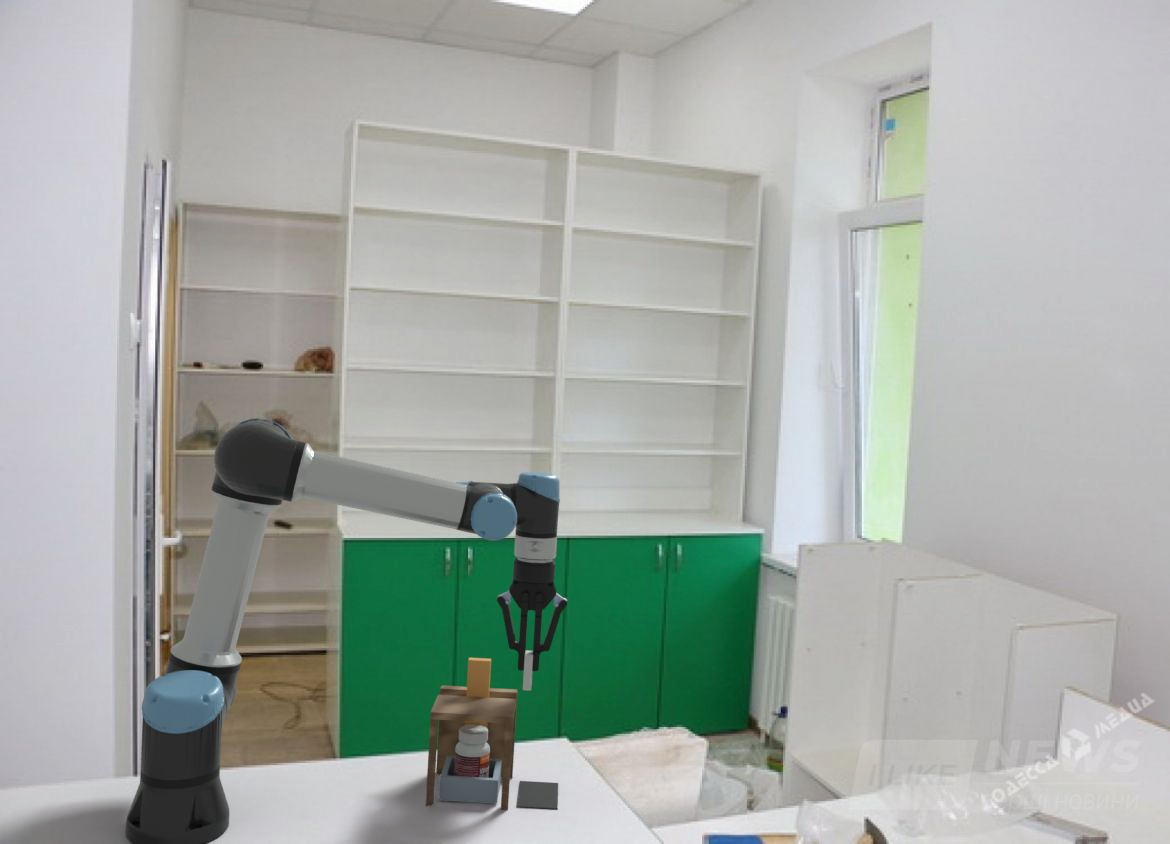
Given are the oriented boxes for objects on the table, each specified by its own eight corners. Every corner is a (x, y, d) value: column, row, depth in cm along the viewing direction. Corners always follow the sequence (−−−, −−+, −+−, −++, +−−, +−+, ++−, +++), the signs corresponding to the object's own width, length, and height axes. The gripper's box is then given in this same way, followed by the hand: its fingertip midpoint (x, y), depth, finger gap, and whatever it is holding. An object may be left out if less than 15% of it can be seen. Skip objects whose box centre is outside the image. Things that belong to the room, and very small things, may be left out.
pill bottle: (485, 800, 179) (488, 736, 179) (450, 798, 180) (453, 734, 179) (490, 786, 186) (493, 724, 185) (456, 784, 186) (459, 722, 185)
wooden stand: (425, 805, 176) (430, 712, 175) (436, 771, 191) (441, 685, 190) (507, 810, 176) (513, 716, 175) (512, 775, 191) (517, 689, 190)
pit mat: (516, 807, 177) (516, 806, 177) (519, 781, 188) (520, 780, 188) (557, 809, 178) (557, 808, 178) (558, 783, 189) (558, 782, 189)
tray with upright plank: (438, 800, 178) (445, 673, 177) (445, 776, 188) (452, 656, 187) (496, 803, 178) (504, 676, 177) (500, 779, 188) (507, 659, 187)
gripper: (497, 560, 182) (489, 692, 183) (571, 564, 182) (562, 696, 183) (500, 553, 189) (492, 679, 190) (570, 557, 189) (563, 683, 190)
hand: (527, 687), depth 187 cm, fingers closed
